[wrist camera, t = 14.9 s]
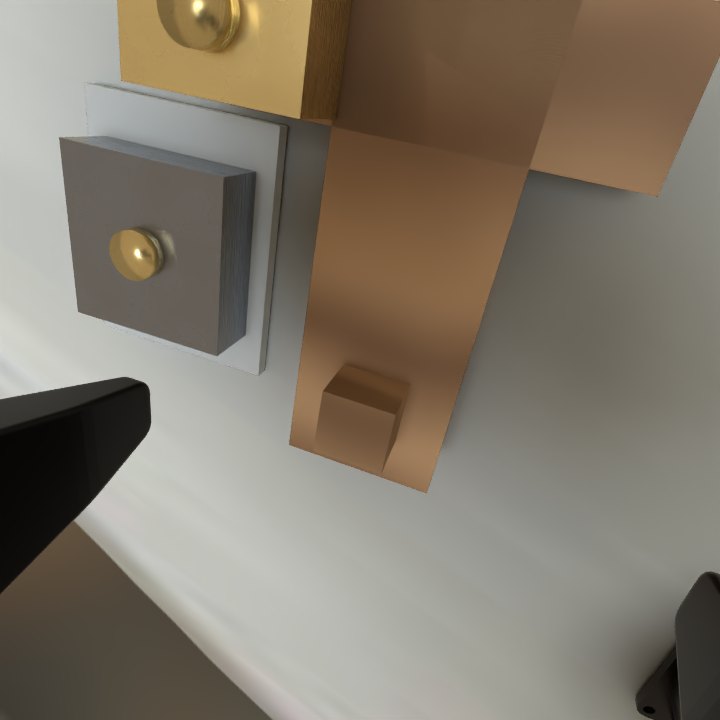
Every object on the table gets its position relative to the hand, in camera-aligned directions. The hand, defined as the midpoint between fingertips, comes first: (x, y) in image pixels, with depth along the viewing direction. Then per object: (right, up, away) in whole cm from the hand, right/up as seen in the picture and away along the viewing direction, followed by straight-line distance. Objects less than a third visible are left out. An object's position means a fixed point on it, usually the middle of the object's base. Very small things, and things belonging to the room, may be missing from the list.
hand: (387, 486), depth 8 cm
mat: (-8, +7, +13) cm, 16 cm away
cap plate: (-8, +7, +12) cm, 16 cm away
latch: (-3, +11, +6) cm, 13 cm away
